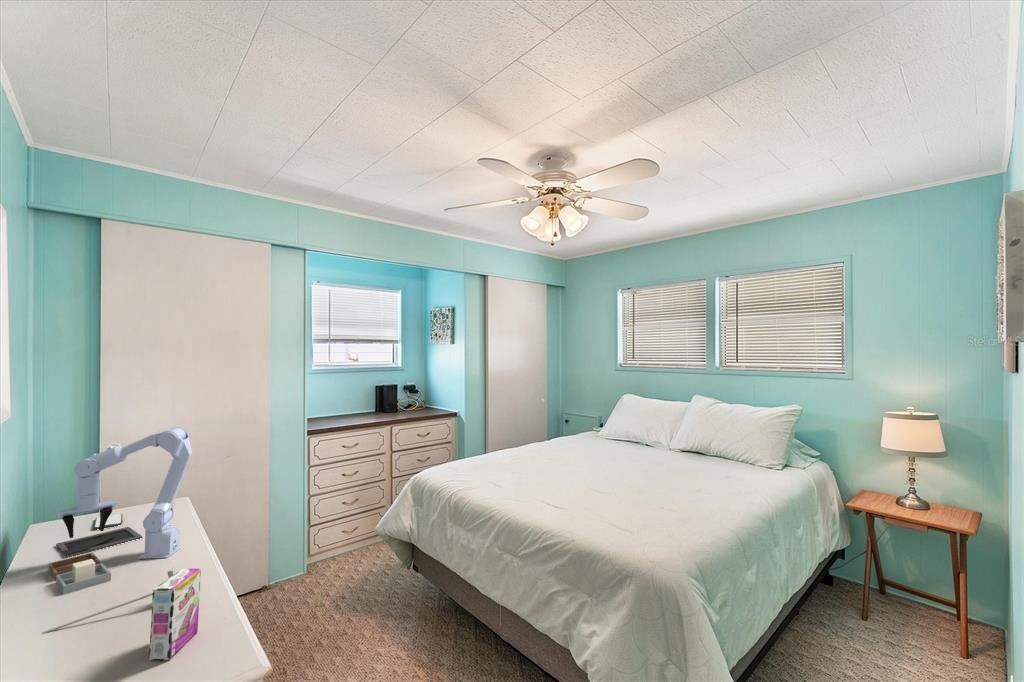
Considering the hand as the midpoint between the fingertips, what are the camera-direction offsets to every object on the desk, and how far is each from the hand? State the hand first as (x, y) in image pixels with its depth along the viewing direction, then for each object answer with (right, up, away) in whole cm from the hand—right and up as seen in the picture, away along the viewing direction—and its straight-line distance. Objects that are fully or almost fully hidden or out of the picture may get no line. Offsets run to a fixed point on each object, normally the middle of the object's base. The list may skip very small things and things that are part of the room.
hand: (86, 533), depth 156 cm
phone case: (-24, -11, +35) cm, 44 cm away
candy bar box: (+63, -9, -44) cm, 77 cm away
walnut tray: (+2, -9, -6) cm, 11 cm away
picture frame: (-9, -11, +16) cm, 21 cm away
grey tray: (+12, -9, -14) cm, 20 cm away
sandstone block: (+12, -9, -14) cm, 20 cm away
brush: (+38, -9, -31) cm, 50 cm away
